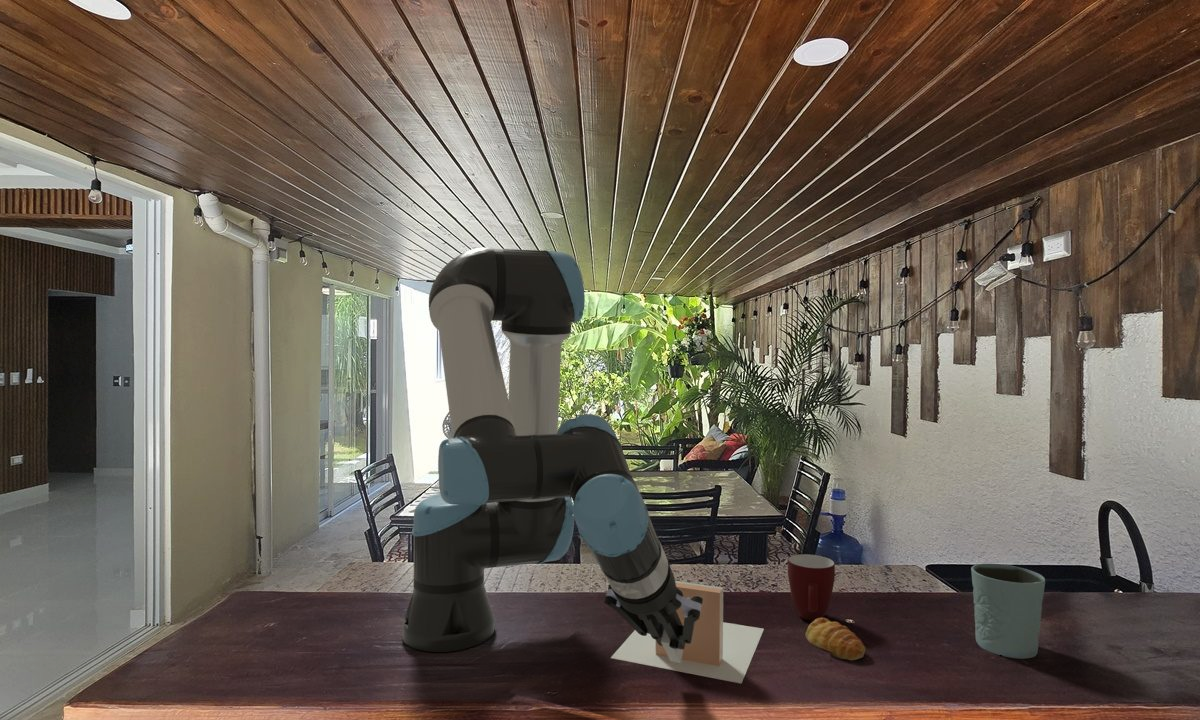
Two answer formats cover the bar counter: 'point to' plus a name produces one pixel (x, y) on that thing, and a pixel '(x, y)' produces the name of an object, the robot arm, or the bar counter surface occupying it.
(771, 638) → the bar counter surface
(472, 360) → the robot arm
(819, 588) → the mug
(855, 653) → the pastry
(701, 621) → the tile
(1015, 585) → the green ceramic cup
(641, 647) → the mat
